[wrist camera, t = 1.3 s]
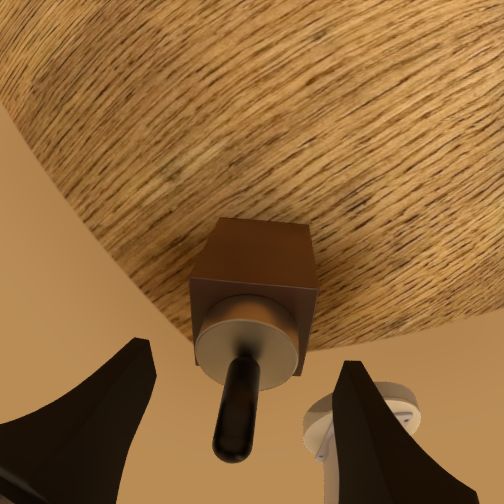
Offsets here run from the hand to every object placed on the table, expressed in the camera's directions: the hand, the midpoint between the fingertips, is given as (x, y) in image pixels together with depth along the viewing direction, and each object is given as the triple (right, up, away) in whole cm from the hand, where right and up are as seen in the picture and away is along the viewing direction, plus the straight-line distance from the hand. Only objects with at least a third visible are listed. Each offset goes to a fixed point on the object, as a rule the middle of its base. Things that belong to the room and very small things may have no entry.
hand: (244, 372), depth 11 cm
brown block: (+1, +4, +8) cm, 9 cm away
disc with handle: (0, +1, +2) cm, 2 cm away
